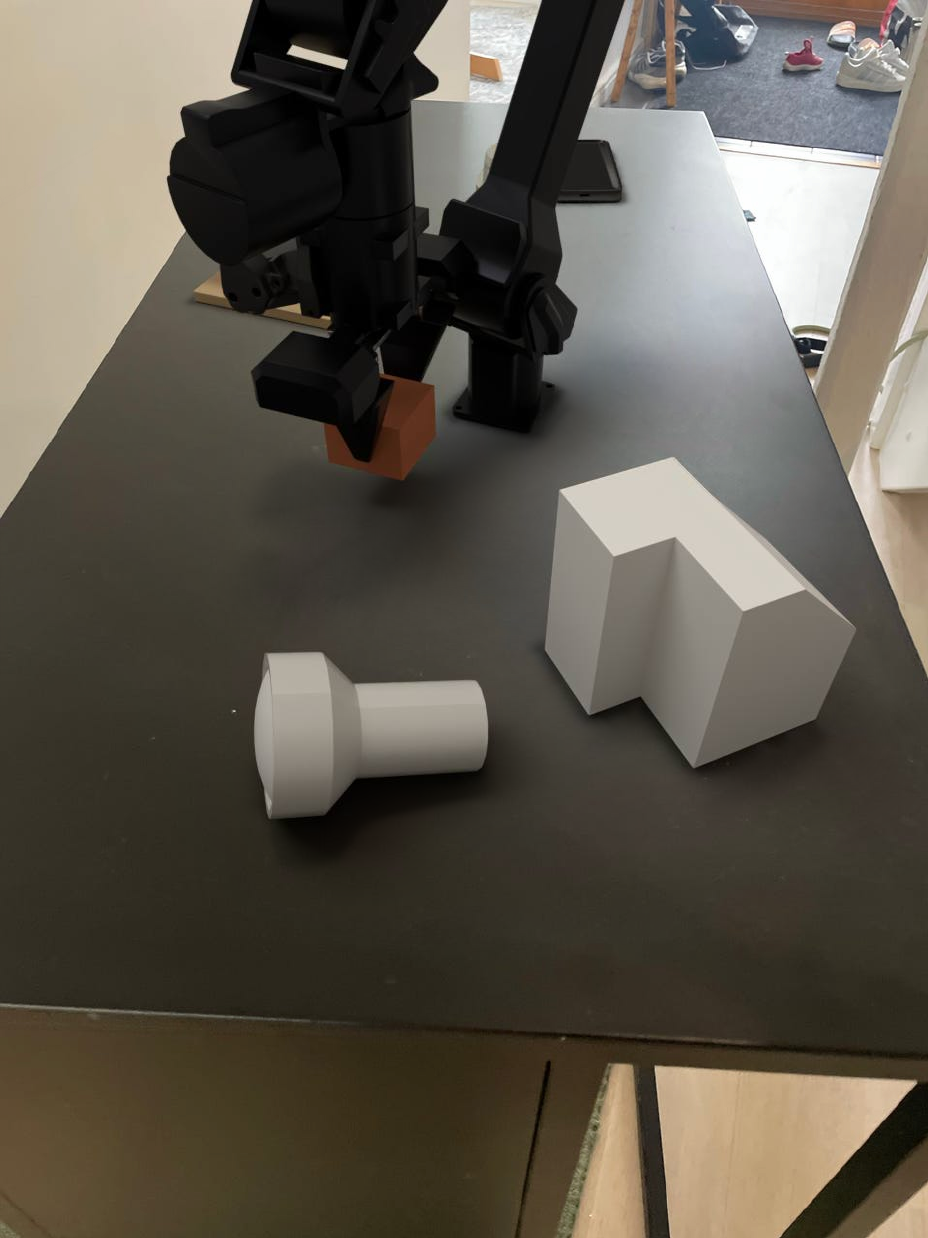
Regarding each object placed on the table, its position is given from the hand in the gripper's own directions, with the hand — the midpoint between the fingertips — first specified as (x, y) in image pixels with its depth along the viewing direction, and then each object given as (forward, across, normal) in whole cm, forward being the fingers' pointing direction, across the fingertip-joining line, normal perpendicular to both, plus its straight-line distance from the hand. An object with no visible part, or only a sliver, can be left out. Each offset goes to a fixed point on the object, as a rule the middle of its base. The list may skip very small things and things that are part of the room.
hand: (382, 435), depth 61 cm
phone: (+4, -59, -4) cm, 59 cm away
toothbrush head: (+5, -38, -6) cm, 39 cm away
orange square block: (+1, 0, 0) cm, 1 cm away
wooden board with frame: (+4, -26, -21) cm, 34 cm away
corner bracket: (+5, +10, +23) cm, 25 cm away
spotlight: (+5, +22, +9) cm, 24 cm away
